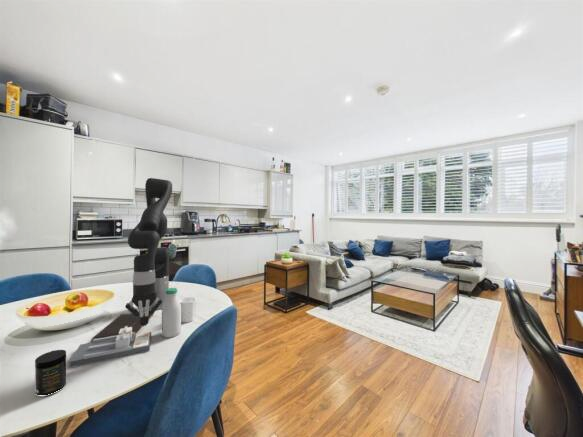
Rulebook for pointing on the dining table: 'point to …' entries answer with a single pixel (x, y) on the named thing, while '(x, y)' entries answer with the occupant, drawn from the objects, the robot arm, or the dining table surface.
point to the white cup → (187, 309)
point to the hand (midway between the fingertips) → (144, 325)
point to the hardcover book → (121, 325)
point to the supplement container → (50, 372)
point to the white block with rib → (122, 341)
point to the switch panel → (109, 349)
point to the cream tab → (126, 331)
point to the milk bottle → (171, 314)
